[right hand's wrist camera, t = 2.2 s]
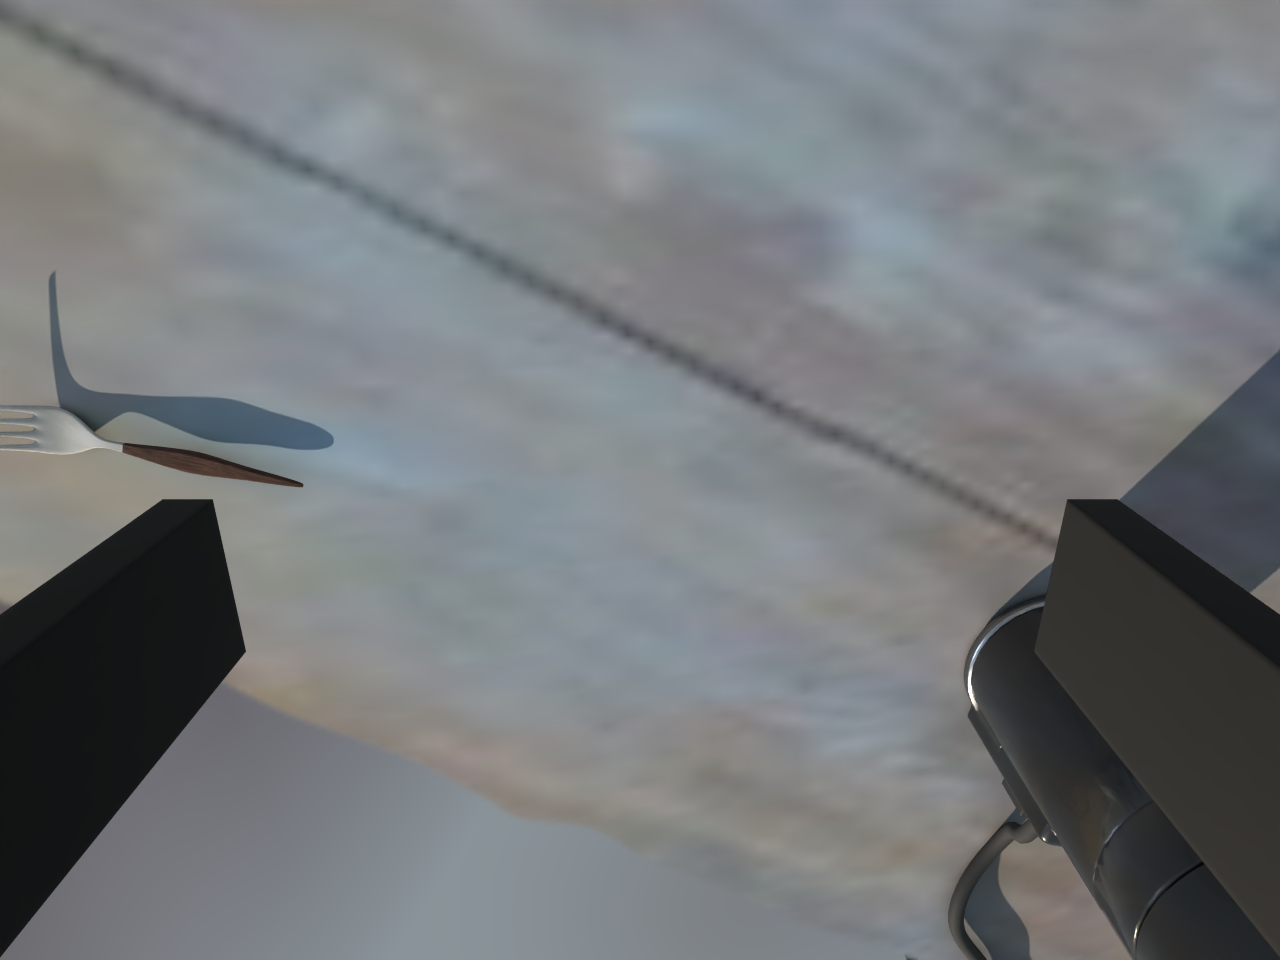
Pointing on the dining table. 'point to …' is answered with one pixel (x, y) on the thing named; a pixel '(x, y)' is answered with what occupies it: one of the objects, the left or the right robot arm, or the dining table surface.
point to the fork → (119, 446)
